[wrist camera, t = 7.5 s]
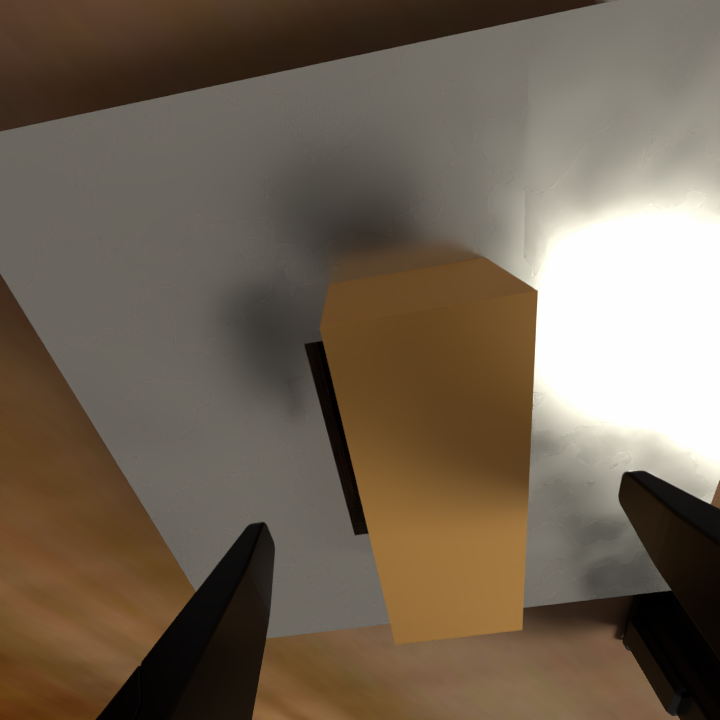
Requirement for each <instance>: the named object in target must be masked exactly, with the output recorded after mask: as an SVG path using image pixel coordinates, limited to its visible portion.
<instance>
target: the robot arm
mask: <svg viewBox="0 0 720 720" xmlns="http://www.w3.org/2000/svg"><path fill="white" fill-rule="evenodd" d="M618 499H619V502H620V505H621V507H622V509H623V510H624V512H625V514H626V516H627V517H628V519H629V521H630V523H631V525H632V526H633V528H634V530H635V532H636V533H637V535H638V537H639V539H640V541H641V542H642V544H643V546H644V548H645V549H646V551H647V553H648V555H649V557H650V558H651V560H652V562H653V563H654V565H655V567H656V568H657V570H658V571H659V573H660V574H661V576H662V577H663V579H664V580H665V582H666V583H667V584H668V586H669V587H670V589H671V590H669V591H661V592H652V593H644V594H636V595H635V597H634V601H633V605H632V608H631V612H630V616H629V619H628V623H627V627H626V631H625V634H624V638H623V644H624V646H625V648H626V649H627V650H629V651H631V652H632V654H633V655H634V657H635V659H636V660H637V662H638V664H639V666H640V667H641V669H642V671H643V672H644V674H645V676H646V678H647V679H648V681H649V683H650V684H651V686H652V688H653V690H654V691H655V693H656V695H657V696H658V698H659V700H660V702H661V703H662V705H663V707H664V708H665V710H666V711H667V712H668V713H669V714H670V715H672V716H677V715H678V717H679V718H680V720H720V509H719V508H717V507H715V506H713V505H711V504H709V503H707V502H705V501H703V500H701V499H699V498H697V497H695V496H693V495H692V494H690V493H688V492H686V491H684V490H682V489H680V488H678V487H676V486H674V485H672V484H670V483H668V482H666V481H664V480H662V479H660V478H659V477H657V476H655V475H653V474H651V473H649V472H647V471H644V470H632V471H626V472H624V473H623V474H622V478H621V483H620V488H619V493H618ZM274 558H275V544H274V541H273V538H272V536H271V533H270V531H269V529H268V526H267V524H266V523H265V522H257V523H251V524H249V525H248V526H247V527H246V528H245V529H244V531H243V532H242V533H241V535H240V536H239V537H238V538H237V540H236V541H235V542H234V544H233V545H232V546H231V547H230V549H229V550H228V551H227V553H226V554H225V555H224V557H223V558H222V559H221V560H220V562H219V563H218V564H217V566H216V567H215V568H214V569H213V571H212V572H211V573H210V575H209V576H208V577H207V578H206V580H205V581H204V582H203V584H202V585H201V586H200V587H199V589H198V590H197V591H196V593H195V594H194V595H193V596H192V598H191V599H190V600H189V602H188V603H187V604H186V605H185V607H184V608H183V609H182V611H181V612H180V613H179V614H178V616H177V617H176V618H175V620H174V621H173V622H172V623H171V625H170V626H169V627H168V629H167V630H166V631H165V632H164V634H163V635H162V636H161V638H160V639H159V640H158V641H157V643H156V644H155V645H154V647H153V648H152V649H151V650H150V652H149V653H148V654H147V656H146V657H145V658H144V660H143V661H142V663H141V666H138V667H137V668H136V670H135V671H134V672H133V673H132V675H131V676H130V677H129V679H128V680H127V681H126V682H125V684H124V685H123V686H122V688H121V689H120V690H119V691H118V693H117V694H116V695H115V696H114V697H113V699H112V700H111V701H110V702H109V704H108V705H107V706H106V707H105V709H104V710H103V711H102V712H101V714H100V715H99V716H98V717H97V718H96V720H252V715H253V710H254V704H255V698H256V693H257V687H258V681H259V676H260V670H261V665H262V659H263V653H264V648H265V642H266V636H267V631H268V625H269V618H270V610H271V598H272V585H273V572H274Z"/></svg>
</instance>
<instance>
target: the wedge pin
mask: <svg viewBox="0 0 720 720" xmlns="http://www.w3.org/2000/svg"><path fill="white" fill-rule="evenodd" d="M537 301H538V291H537V290H536V289H534V288H533V287H531V286H530V285H528V284H526V283H525V282H523V281H522V280H520V279H519V278H517V277H515V276H514V275H512V274H511V273H509V272H508V271H506V270H504V269H503V268H501V267H500V266H498V265H497V264H495V263H493V262H492V261H490V260H489V259H487V258H486V257H481V258H476V259H470V260H464V261H459V262H453V263H447V264H442V265H436V266H430V267H425V268H419V269H413V270H408V271H402V272H396V273H390V274H385V275H379V276H373V277H368V278H362V279H356V280H351V281H345V282H339V283H334V284H329V285H328V290H327V295H326V300H325V305H324V309H323V314H322V319H321V324H320V331H321V336H322V340H323V344H324V348H325V352H326V357H327V361H328V365H329V369H330V373H331V378H332V382H333V386H334V390H335V394H336V398H337V403H338V407H339V411H340V415H341V419H342V424H343V428H344V432H345V436H346V440H347V445H348V449H349V453H350V457H351V461H352V466H353V470H354V474H355V478H356V482H357V486H358V491H359V495H360V499H361V503H362V507H363V512H364V516H365V520H366V524H367V528H368V533H369V537H370V541H371V545H372V549H373V554H374V558H375V562H376V566H377V570H378V574H379V579H380V583H381V587H382V591H383V595H384V600H385V604H386V608H387V612H388V616H389V621H390V625H391V629H392V633H393V637H394V642H395V645H396V644H405V643H413V642H422V641H431V640H439V639H448V638H457V637H465V636H474V635H483V634H491V633H500V632H509V631H517V630H522V626H523V604H524V583H525V561H526V539H527V518H528V496H529V474H530V453H531V431H532V410H533V388H534V366H535V345H536V323H537Z"/></svg>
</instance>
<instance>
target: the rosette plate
mask: <svg viewBox="0 0 720 720" xmlns="http://www.w3.org/2000/svg"><path fill="white" fill-rule="evenodd" d="M481 257H486V258H487V259H489V260H490V261H492V262H493V263H495V264H497V265H498V266H500V267H501V268H503V269H504V270H506V271H508V272H509V273H511V274H512V275H514V276H515V277H517V278H519V279H520V280H522V281H523V282H525V283H526V284H528V285H530V286H531V287H533V288H534V289H536V290H537V291H538V301H537V323H536V345H535V366H534V388H533V410H532V431H531V453H530V474H529V496H528V518H527V539H526V561H525V583H524V604H523V608H526V607H535V606H543V605H551V604H560V603H568V602H577V601H585V600H594V599H602V598H610V597H619V596H627V595H636V594H644V593H652V592H661V591H669V590H671V589H670V587H669V586H668V584H667V583H666V582H665V580H664V579H663V577H662V576H661V574H660V573H659V571H658V570H657V568H656V567H655V565H654V563H653V562H652V560H651V558H650V557H649V555H648V553H647V551H646V549H645V548H644V546H643V544H642V542H641V541H640V539H639V537H638V535H637V533H636V532H635V530H634V528H633V526H632V525H631V523H630V521H629V519H628V517H627V516H626V514H625V512H624V510H623V509H622V507H621V505H620V502H619V499H618V493H619V488H620V483H621V478H622V474H623V473H624V472H626V471H632V470H644V471H647V472H649V473H651V474H653V475H655V476H657V477H659V478H660V479H662V480H664V481H666V482H668V483H670V484H672V485H674V486H676V487H678V488H680V489H682V490H684V491H686V492H688V493H690V494H692V495H693V496H695V497H697V498H699V499H701V500H703V501H705V502H707V503H709V504H711V502H712V499H713V496H714V494H715V491H716V488H717V485H718V483H719V480H720V0H615V1H611V2H606V3H601V4H597V5H592V6H587V7H583V8H578V9H573V10H569V11H564V12H559V13H554V14H550V15H545V16H540V17H536V18H531V19H526V20H522V21H517V22H512V23H508V24H503V25H498V26H493V27H489V28H484V29H479V30H475V31H470V32H465V33H461V34H456V35H451V36H446V37H442V38H437V39H432V40H428V41H423V42H418V43H414V44H409V45H404V46H400V47H395V48H390V49H385V50H381V51H376V52H371V53H367V54H362V55H357V56H353V57H348V58H343V59H338V60H334V61H329V62H324V63H320V64H315V65H310V66H306V67H301V68H296V69H292V70H287V71H282V72H277V73H273V74H268V75H263V76H259V77H254V78H249V79H245V80H240V81H235V82H231V83H226V84H221V85H216V86H212V87H207V88H202V89H198V90H193V91H188V92H184V93H179V94H174V95H169V96H165V97H160V98H155V99H151V100H146V101H141V102H137V103H132V104H127V105H123V106H118V107H113V108H108V109H104V110H99V111H94V112H90V113H85V114H80V115H76V116H71V117H66V118H62V119H57V120H52V121H47V122H43V123H38V124H33V125H29V126H24V127H19V128H15V129H10V130H5V131H0V274H1V276H2V277H3V279H4V280H5V282H6V284H7V285H8V287H9V289H10V290H11V292H12V293H13V295H14V297H15V298H16V300H17V302H18V303H19V305H20V306H21V308H22V310H23V311H24V313H25V315H26V316H27V318H28V319H29V321H30V323H31V324H32V326H33V328H34V329H35V331H36V332H37V334H38V336H39V337H40V339H41V341H42V342H43V344H44V346H45V347H46V349H47V350H48V352H49V354H50V355H51V357H52V359H53V360H54V362H55V363H56V365H57V367H58V368H59V370H60V372H61V373H62V375H63V376H64V378H65V380H66V381H67V383H68V385H69V386H70V388H71V389H72V391H73V393H74V394H75V396H76V398H77V399H78V401H79V402H80V404H81V406H82V407H83V409H84V411H85V412H86V414H87V415H88V417H89V419H90V420H91V422H92V424H93V425H94V427H95V428H96V430H97V432H98V433H99V435H100V437H101V438H102V440H103V441H104V443H105V445H106V446H107V448H108V450H109V451H110V453H111V454H112V456H113V458H114V459H115V461H116V463H117V464H118V466H119V468H120V469H121V471H122V472H123V474H124V476H125V477H126V479H127V481H128V482H129V484H130V485H131V487H132V489H133V490H134V492H135V494H136V495H137V497H138V498H139V500H140V502H141V503H142V505H143V507H144V508H145V510H146V511H147V513H148V515H149V516H150V518H151V520H152V521H153V523H154V524H155V526H156V528H157V529H158V531H159V533H160V534H161V536H162V537H163V539H164V541H165V542H166V544H167V546H168V547H169V549H170V550H171V552H172V554H173V555H174V557H175V559H176V560H177V562H178V563H179V565H180V567H181V568H182V570H183V572H184V573H185V575H186V576H187V578H188V580H189V581H190V583H191V585H192V586H193V588H194V589H195V591H197V590H198V589H199V587H200V586H201V585H202V584H203V582H204V581H205V580H206V578H207V577H208V576H209V575H210V573H211V572H212V571H213V569H214V568H215V567H216V566H217V564H218V563H219V562H220V560H221V559H222V558H223V557H224V555H225V554H226V553H227V551H228V550H229V549H230V547H231V546H232V545H233V544H234V542H235V541H236V540H237V538H238V537H239V536H240V535H241V533H242V532H243V531H244V529H245V528H246V527H247V526H248V525H249V524H251V523H257V522H265V523H266V524H267V526H268V529H269V531H270V533H271V536H272V538H273V541H274V544H275V558H274V572H273V585H272V598H271V610H270V618H269V625H268V631H267V636H266V638H274V637H282V636H291V635H299V634H307V633H316V632H324V631H333V630H341V629H349V628H358V627H366V626H375V625H383V624H390V621H389V616H388V612H387V608H386V604H385V600H384V595H383V591H382V587H381V583H380V579H379V574H378V570H377V566H376V562H375V558H374V554H373V549H372V545H371V541H370V537H369V533H368V528H367V524H366V520H365V516H364V512H363V507H362V503H361V499H360V495H359V494H354V491H353V487H352V482H351V478H350V474H349V470H348V466H347V462H346V458H345V454H344V450H343V446H342V442H341V438H340V434H339V430H338V426H337V422H336V418H335V414H334V410H333V406H332V402H331V397H330V393H329V389H328V385H327V381H326V377H325V373H324V369H323V365H322V361H321V357H320V353H319V349H318V345H317V341H323V340H322V336H321V331H320V324H321V319H322V314H323V309H324V305H325V300H326V295H327V290H328V285H329V284H334V283H339V282H345V281H351V280H356V279H362V278H368V277H373V276H379V275H385V274H390V273H396V272H402V271H408V270H413V269H419V268H425V267H430V266H436V265H442V264H447V263H453V262H459V261H464V260H470V259H476V258H481Z"/></svg>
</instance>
